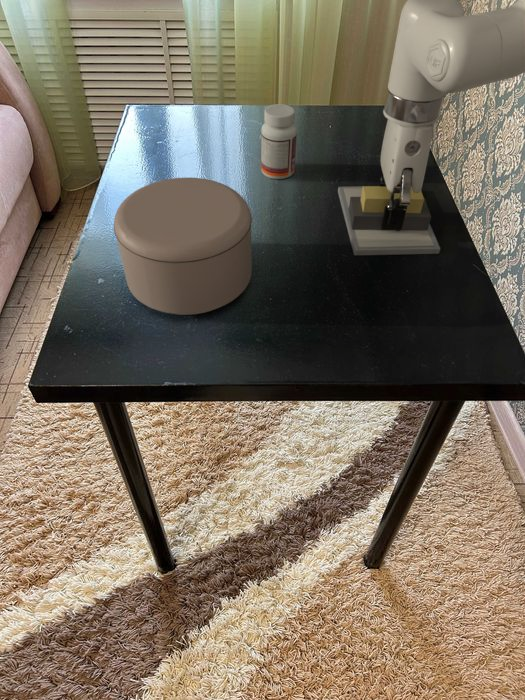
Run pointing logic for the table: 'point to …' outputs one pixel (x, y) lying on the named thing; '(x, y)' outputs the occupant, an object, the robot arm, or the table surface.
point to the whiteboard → (385, 234)
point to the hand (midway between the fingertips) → (388, 216)
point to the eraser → (372, 205)
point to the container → (185, 244)
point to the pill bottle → (278, 141)
